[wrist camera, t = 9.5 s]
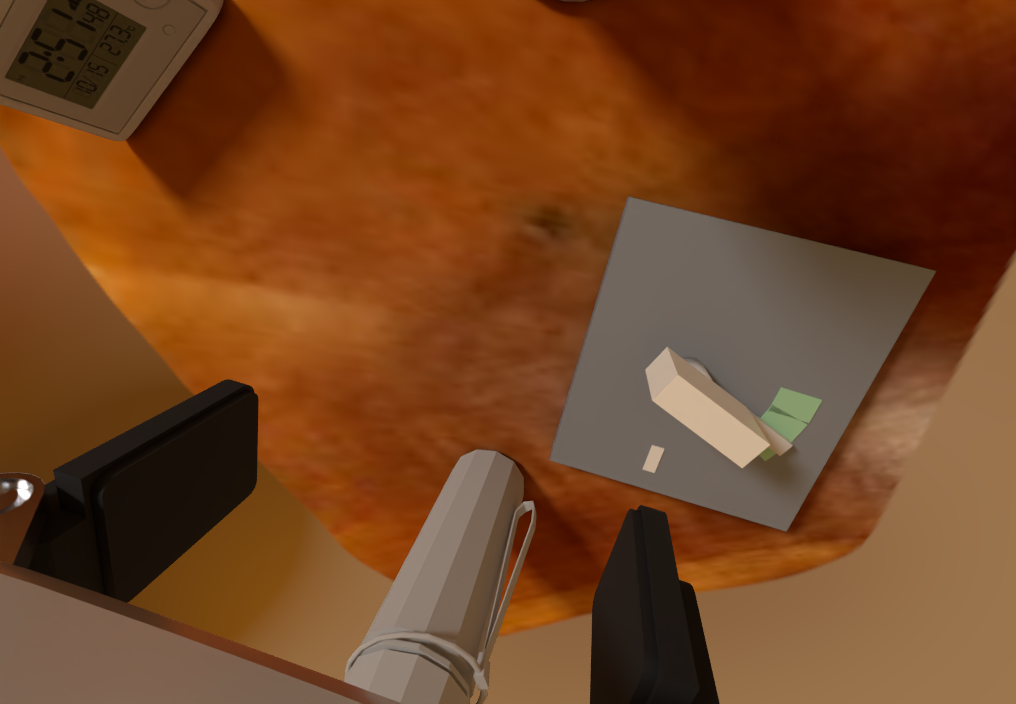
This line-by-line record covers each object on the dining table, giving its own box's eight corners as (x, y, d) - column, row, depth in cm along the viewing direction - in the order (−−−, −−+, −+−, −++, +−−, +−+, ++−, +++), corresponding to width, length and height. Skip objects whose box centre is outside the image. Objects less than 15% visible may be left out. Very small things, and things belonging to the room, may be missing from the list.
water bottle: (466, 515, 47) (334, 835, 24) (442, 447, 45) (272, 729, 22) (555, 505, 45) (504, 851, 22) (534, 433, 42) (452, 733, 19)
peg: (641, 356, 36) (650, 401, 28) (663, 332, 35) (679, 373, 27) (768, 452, 36) (809, 521, 29) (792, 431, 35) (842, 497, 28)
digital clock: (124, 151, 41) (-28, 142, 31) (57, 45, 39) (-129, -1, 29) (258, 48, 36) (128, -1, 26) (189, -80, 34) (19, -187, 24)
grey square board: (627, 196, 34) (629, 197, 32) (912, 264, 32) (937, 271, 30) (552, 445, 43) (549, 460, 40) (776, 511, 41) (786, 532, 38)
